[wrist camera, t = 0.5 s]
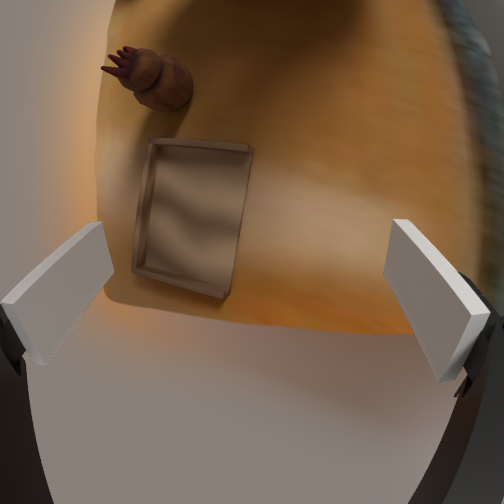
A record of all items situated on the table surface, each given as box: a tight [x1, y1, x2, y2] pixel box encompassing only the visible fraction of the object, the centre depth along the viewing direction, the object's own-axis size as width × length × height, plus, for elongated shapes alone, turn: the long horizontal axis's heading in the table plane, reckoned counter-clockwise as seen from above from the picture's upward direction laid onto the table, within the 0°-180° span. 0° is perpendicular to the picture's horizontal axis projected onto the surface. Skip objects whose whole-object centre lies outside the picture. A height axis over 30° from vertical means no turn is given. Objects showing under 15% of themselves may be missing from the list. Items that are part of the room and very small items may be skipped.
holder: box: [131, 138, 254, 299], centre depth 36 cm, size 18×13×2 cm
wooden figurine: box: [101, 46, 193, 111], centre depth 28 cm, size 7×6×15 cm
